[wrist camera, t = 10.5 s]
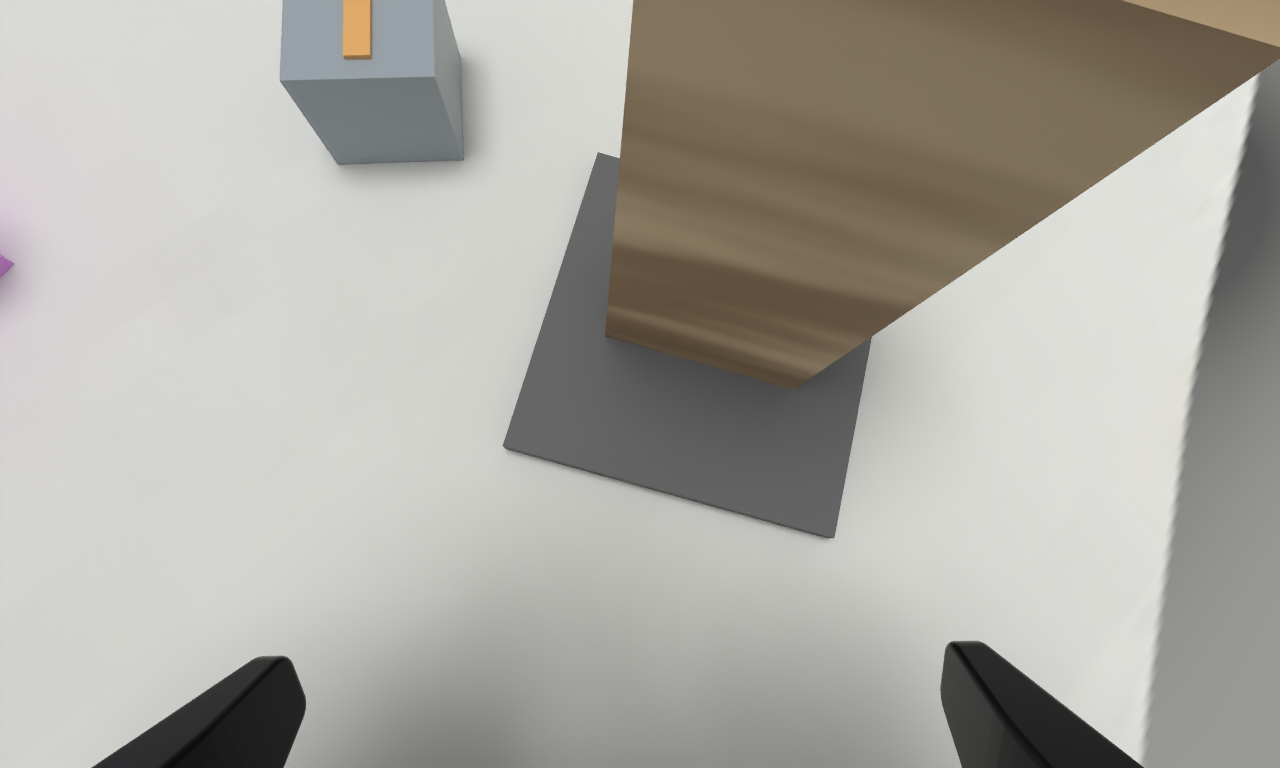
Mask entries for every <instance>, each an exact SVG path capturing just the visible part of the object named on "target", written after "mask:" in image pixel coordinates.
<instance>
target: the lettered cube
mask: <svg viewBox="0 0 1280 768" xmlns="http://www.w3.org/2000/svg"><path fill="white" fill-rule="evenodd" d="M280 82H281V83H282V85H283V86H284V87H285V89H286V90H287V92H288V93H289V95H290V96H291V98H292V99H293V100H294V102H295V103H296V105H297V106H298V108H299V109H300V111H301V112H302V113H303V115H304V116H305V118H306V119H307V121H308V122H309V124H310V125H311V126H312V128H313V129H314V131H315V132H316V134H317V135H318V137H319V138H320V139H321V141H322V142H323V144H324V145H325V147H326V148H327V150H328V151H329V152H330V154H331V155H332V157H333V158H334V160H335V161H336V163H337V164H338V165H341V164H369V163H397V162H425V161H453V160H464V158H463V128H462V99H461V69H460V54H459V51H458V47H457V44H456V40H455V36H454V33H453V29H452V25H451V22H450V18H449V15H448V11H447V7H446V4H445V0H283V11H282V36H281V61H280Z"/></svg>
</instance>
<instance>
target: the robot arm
mask: <svg viewBox="0 0 1280 768" xmlns="http://www.w3.org/2000/svg"><path fill="white" fill-rule="evenodd" d="M940 691H941V701H942V705H943V709H944V712H945V715H946V718H947V722H948V725H949V728H950V731H951V734H952V737H953V740H954V744H955V747H956V750H957V753H958V756H959V759H960V762H961V766H962V768H1144V767H1142V766H1141V765H1140V764H1139V763H1137V762H1136V761H1135V760H1133V759H1132V758H1131V757H1130V756H1128V755H1127V754H1126V753H1124V752H1123V751H1122V750H1121V749H1119V748H1118V747H1117V746H1116V745H1114V744H1113V743H1112V742H1110V741H1109V740H1108V739H1107V738H1105V737H1104V736H1103V735H1101V734H1100V733H1099V732H1098V731H1096V730H1095V729H1094V728H1093V727H1091V726H1090V725H1089V724H1087V723H1086V722H1085V721H1084V720H1082V719H1081V718H1080V717H1078V716H1077V715H1076V714H1075V713H1073V712H1072V711H1071V710H1069V709H1068V708H1067V707H1066V706H1064V705H1063V704H1062V703H1061V702H1059V701H1058V700H1057V699H1055V698H1054V697H1053V696H1052V695H1050V694H1049V693H1048V692H1046V691H1045V690H1044V689H1043V688H1041V687H1040V686H1039V685H1037V684H1036V683H1035V682H1034V681H1032V680H1031V679H1030V678H1029V677H1027V676H1026V675H1025V674H1023V673H1022V672H1021V671H1020V670H1018V669H1017V668H1016V667H1014V666H1013V665H1012V664H1011V663H1009V662H1008V661H1007V660H1006V659H1004V658H1003V657H1002V656H1000V655H999V654H998V653H997V652H995V651H994V650H993V649H991V648H990V647H989V646H987V645H986V644H984V643H982V642H980V641H953V642H950V643H949V644H948V645H947V646H946V649H945V655H944V663H943V672H942V680H941V689H940ZM305 709H306V698H305V694H304V692H303V689H302V686H301V684H300V681H299V679H298V676H297V673H296V671H295V668H294V666H293V663H292V661H291V660H290V659H289V658H288V657H285V656H262V657H257V658H255V659H253V660H251V661H250V662H248V663H247V664H245V665H244V666H242V667H241V668H239V669H238V670H237V671H235V672H234V673H232V674H231V675H229V676H228V677H226V678H225V679H223V680H222V681H220V682H219V683H217V684H216V685H214V686H213V687H211V688H210V689H208V690H207V691H205V692H204V693H202V694H201V695H199V696H198V697H196V698H195V699H193V700H192V701H190V702H189V703H187V704H186V705H184V706H183V707H181V708H180V709H178V710H177V711H175V712H174V713H172V714H171V715H169V716H168V717H166V718H165V719H163V720H162V721H160V722H159V723H158V724H156V725H155V726H153V727H152V728H150V729H149V730H147V731H146V732H144V733H143V734H141V735H140V736H138V737H137V738H135V739H134V740H132V741H131V742H129V743H128V744H126V745H125V746H123V747H122V748H120V749H119V750H117V751H116V752H114V753H113V754H111V755H110V756H108V757H107V758H105V759H104V760H102V761H101V762H99V763H98V764H96V765H95V766H93V767H92V768H284V765H285V763H286V760H287V758H288V755H289V753H290V750H291V748H292V745H293V743H294V740H295V738H296V735H297V733H298V730H299V728H300V725H301V722H302V720H303V717H304V714H305Z"/></svg>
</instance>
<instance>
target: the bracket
mask: <svg viewBox="0 0 1280 768" xmlns="http://www.w3.org/2000/svg"><path fill="white" fill-rule="evenodd" d="M13 264H14V263H13V262H11V261H10V260H8V259H7V258H5V257H4V256H2V255H1V254H0V277H1V276H2V275H3V274H4V273H5V272H6V271H7V270H8V269H9V268H10V267H11V266H12V265H13Z"/></svg>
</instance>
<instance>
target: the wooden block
mask: <svg viewBox="0 0 1280 768" xmlns="http://www.w3.org/2000/svg"><path fill="white" fill-rule="evenodd" d="M1278 59H1280V0H633V11H632V23H631V35H630V47H629V59H628V70H627V82H626V94H625V106H624V118H623V129H622V141H621V153H620V165H619V176H618V188H617V200H616V212H615V224H614V235H613V247H612V259H611V271H610V283H609V294H608V306H607V318H606V330H605V336H607V337H611V338H614V339H618V340H621V341H625V342H628V343H632V344H635V345H639V346H642V347H646V348H649V349H653V350H656V351H660V352H663V353H667V354H670V355H674V356H677V357H681V358H684V359H688V360H692V361H695V362H699V363H702V364H706V365H709V366H713V367H716V368H720V369H723V370H727V371H730V372H734V373H737V374H741V375H744V376H748V377H751V378H755V379H758V380H762V381H765V382H769V383H772V384H776V385H779V386H783V387H787V388H790V389H795V388H797V387H798V386H800V385H801V384H802V383H804V382H805V381H807V380H808V379H810V378H811V377H813V376H814V375H816V374H817V373H819V372H820V371H822V370H823V369H825V368H826V367H827V366H829V365H830V364H832V363H833V362H835V361H836V360H838V359H839V358H841V357H842V356H844V355H845V354H847V353H848V352H849V351H851V350H852V349H854V348H855V347H857V346H858V345H860V344H861V343H863V342H864V341H866V340H867V339H869V338H870V337H872V336H873V335H874V334H876V333H877V332H879V331H880V330H882V329H883V328H885V327H886V326H888V325H889V324H891V323H892V322H894V321H895V320H896V319H898V318H899V317H901V316H902V315H904V314H905V313H907V312H908V311H910V310H911V309H913V308H914V307H916V306H917V305H919V304H920V303H921V302H923V301H924V300H926V299H927V298H929V297H930V296H932V295H933V294H935V293H936V292H938V291H939V290H941V289H942V288H943V287H945V286H946V285H948V284H949V283H951V282H952V281H954V280H955V279H957V278H958V277H960V276H961V275H963V274H964V273H966V272H967V271H968V270H970V269H971V268H973V267H974V266H976V265H977V264H979V263H980V262H982V261H983V260H985V259H986V258H988V257H989V256H990V255H992V254H993V253H995V252H996V251H998V250H999V249H1001V248H1002V247H1004V246H1005V245H1007V244H1008V243H1010V242H1011V241H1013V240H1014V239H1015V238H1017V237H1018V236H1020V235H1021V234H1023V233H1024V232H1026V231H1027V230H1029V229H1030V228H1032V227H1033V226H1035V225H1036V224H1037V223H1039V222H1040V221H1042V220H1043V219H1045V218H1046V217H1048V216H1049V215H1051V214H1052V213H1054V212H1055V211H1057V210H1058V209H1060V208H1061V207H1062V206H1064V205H1065V204H1067V203H1068V202H1070V201H1071V200H1073V199H1074V198H1076V197H1077V196H1079V195H1080V194H1082V193H1083V192H1084V191H1086V190H1087V189H1089V188H1090V187H1092V186H1093V185H1095V184H1096V183H1098V182H1099V181H1101V180H1102V179H1104V178H1105V177H1107V176H1108V175H1109V174H1111V173H1112V172H1114V171H1115V170H1117V169H1118V168H1120V167H1121V166H1123V165H1124V164H1126V163H1127V162H1129V161H1130V160H1131V159H1133V158H1134V157H1136V156H1137V155H1139V154H1140V153H1142V152H1143V151H1145V150H1146V149H1148V148H1149V147H1151V146H1152V145H1154V144H1155V143H1156V142H1158V141H1159V140H1161V139H1162V138H1164V137H1165V136H1167V135H1168V134H1170V133H1171V132H1173V131H1174V130H1176V129H1177V128H1179V127H1180V126H1181V125H1183V124H1184V123H1186V122H1187V121H1189V120H1190V119H1192V118H1193V117H1195V116H1196V115H1198V114H1199V113H1201V112H1202V111H1203V110H1205V109H1206V108H1208V107H1209V106H1211V105H1212V104H1214V103H1215V102H1217V101H1218V100H1220V99H1221V98H1223V97H1224V96H1226V95H1227V94H1228V93H1230V92H1231V91H1233V90H1234V89H1236V88H1237V87H1239V86H1240V85H1242V84H1243V83H1245V82H1246V81H1248V80H1249V79H1250V78H1252V77H1253V76H1255V75H1256V74H1258V73H1259V72H1261V71H1262V70H1264V69H1265V68H1267V67H1268V66H1270V65H1271V64H1272V63H1274V62H1275V61H1277V60H1278Z"/></svg>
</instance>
